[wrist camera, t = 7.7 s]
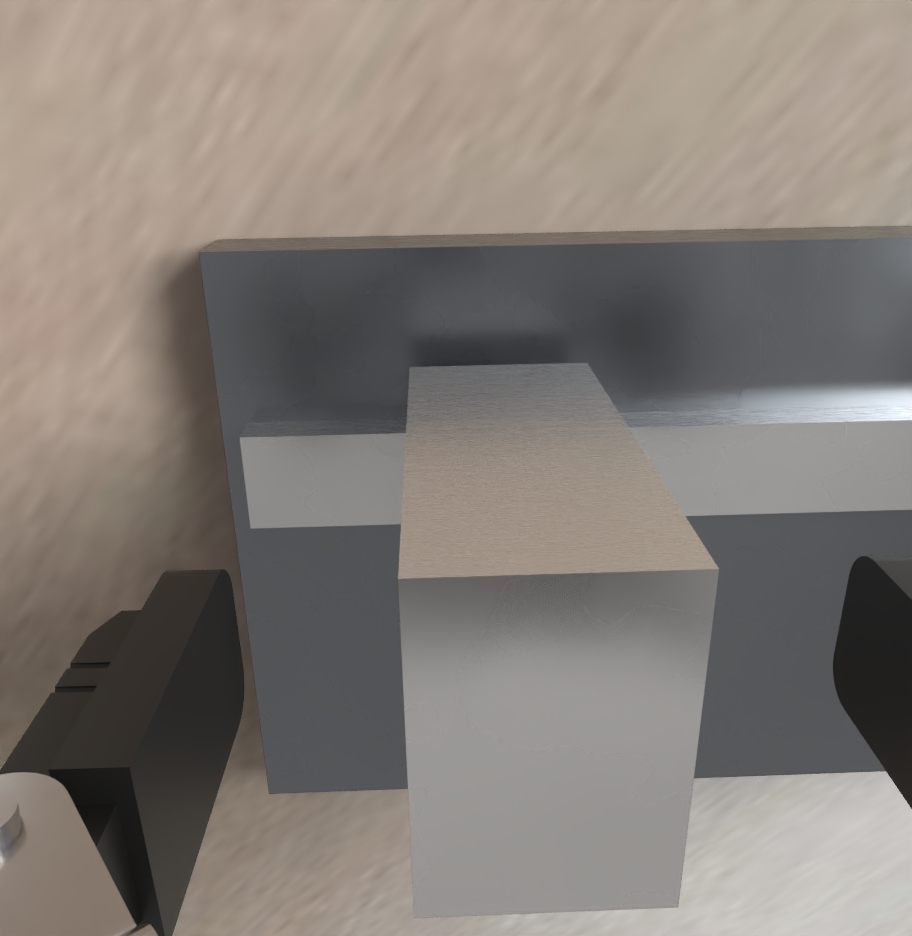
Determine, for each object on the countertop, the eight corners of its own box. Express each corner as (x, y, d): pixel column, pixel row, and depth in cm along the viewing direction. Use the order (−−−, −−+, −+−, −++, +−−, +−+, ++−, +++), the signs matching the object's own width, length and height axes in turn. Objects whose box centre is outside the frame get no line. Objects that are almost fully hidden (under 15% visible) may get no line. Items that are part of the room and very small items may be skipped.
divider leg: (587, 362, 14) (719, 569, 8) (568, 754, 18) (651, 1125, 11) (409, 367, 14) (398, 579, 8) (424, 759, 18) (424, 1135, 11)
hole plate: (1360, 216, 16) (1498, 233, 14) (1167, 716, 21) (1250, 784, 19) (218, 239, 16) (187, 260, 14) (279, 747, 21) (263, 821, 18)
